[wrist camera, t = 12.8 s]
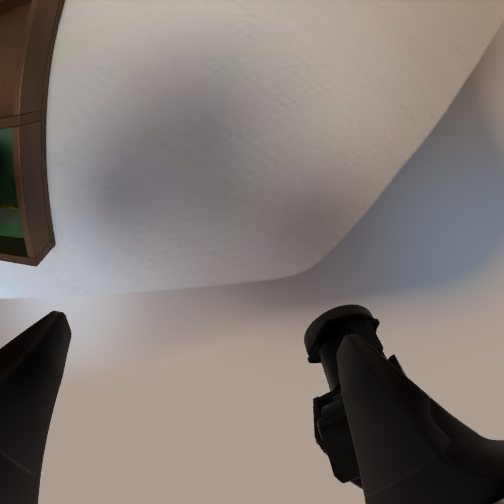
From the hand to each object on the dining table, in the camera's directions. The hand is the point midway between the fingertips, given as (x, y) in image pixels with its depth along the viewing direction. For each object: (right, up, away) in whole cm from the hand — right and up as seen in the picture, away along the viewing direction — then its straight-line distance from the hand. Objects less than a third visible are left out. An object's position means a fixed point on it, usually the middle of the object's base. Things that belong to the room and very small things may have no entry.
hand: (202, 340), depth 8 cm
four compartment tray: (-23, +13, +4) cm, 26 cm away
